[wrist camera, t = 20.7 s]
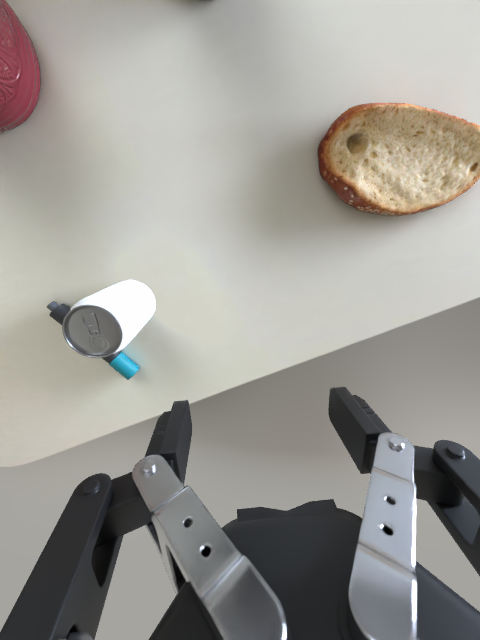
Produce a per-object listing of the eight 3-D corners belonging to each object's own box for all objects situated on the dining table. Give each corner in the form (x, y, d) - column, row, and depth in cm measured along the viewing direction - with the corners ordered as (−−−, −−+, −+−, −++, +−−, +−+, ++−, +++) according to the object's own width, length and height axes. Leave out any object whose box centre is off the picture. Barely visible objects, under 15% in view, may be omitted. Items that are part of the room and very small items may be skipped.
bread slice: (492, 163, 33) (524, 155, 30) (379, 260, 36) (396, 262, 33) (426, 28, 28) (456, -2, 25) (303, 153, 31) (313, 142, 28)
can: (119, 327, 37) (73, 367, 26) (103, 284, 35) (45, 308, 24) (162, 318, 37) (135, 355, 26) (148, 274, 35) (113, 293, 24)
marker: (57, 301, 36) (42, 312, 34) (58, 296, 34) (42, 307, 33) (137, 368, 40) (126, 380, 38) (141, 366, 38) (130, 379, 37)
